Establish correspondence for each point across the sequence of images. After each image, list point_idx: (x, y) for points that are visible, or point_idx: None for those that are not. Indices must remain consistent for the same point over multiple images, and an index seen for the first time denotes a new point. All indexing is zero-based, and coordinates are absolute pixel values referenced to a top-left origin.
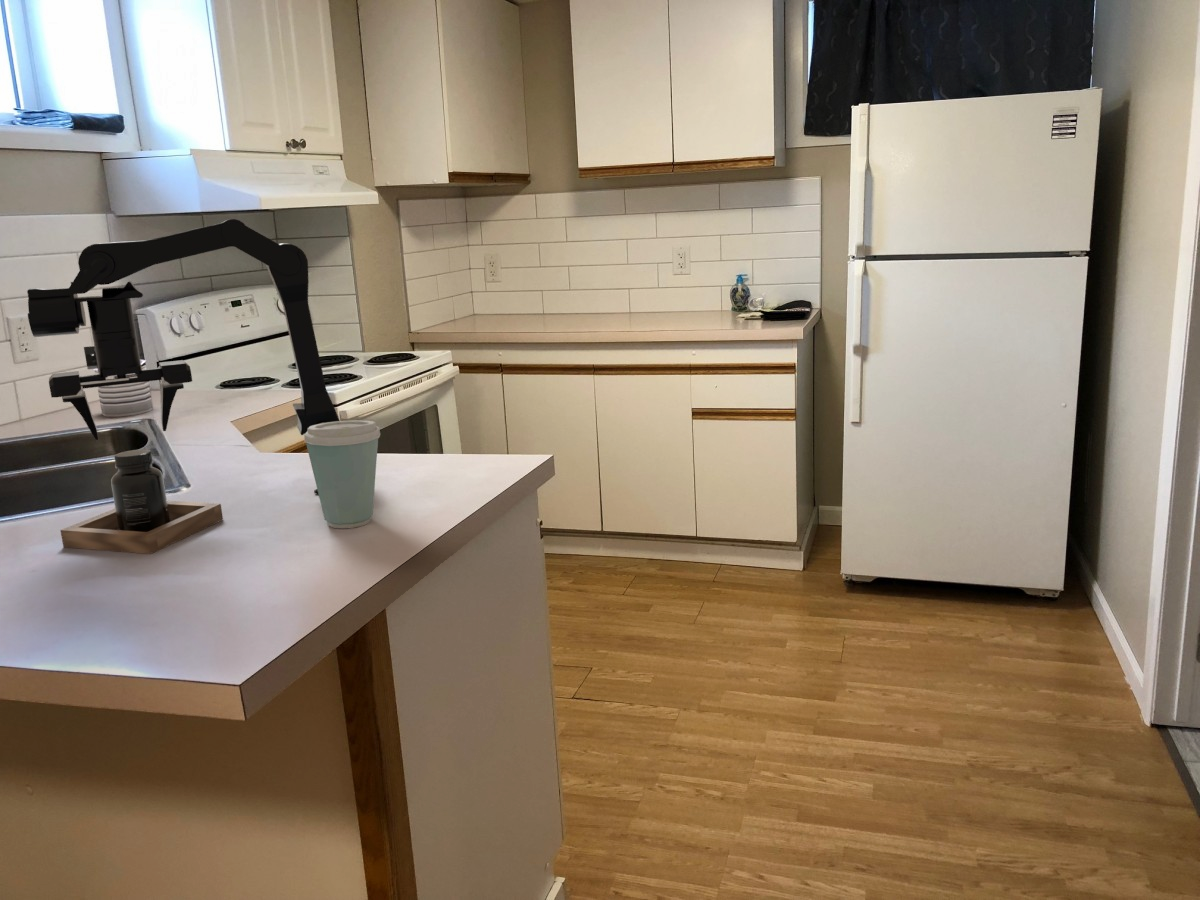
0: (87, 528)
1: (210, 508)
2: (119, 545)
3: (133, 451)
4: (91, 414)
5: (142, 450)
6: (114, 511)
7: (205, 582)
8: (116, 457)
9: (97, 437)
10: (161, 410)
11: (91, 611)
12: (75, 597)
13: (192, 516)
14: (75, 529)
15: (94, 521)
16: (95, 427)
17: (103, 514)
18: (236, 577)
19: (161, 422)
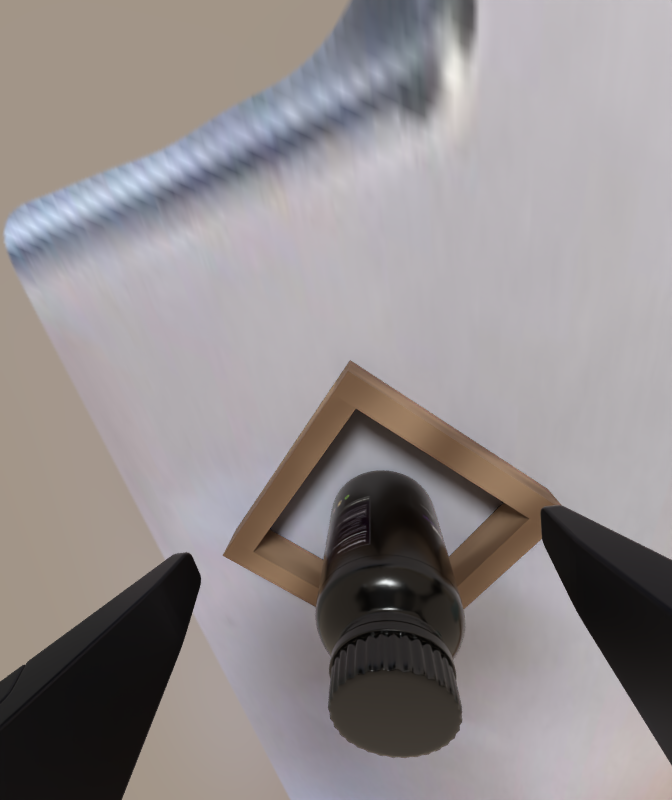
0: (277, 567)
1: (539, 540)
2: None
3: (393, 697)
4: (92, 783)
5: (428, 698)
6: (305, 467)
7: (492, 750)
8: (341, 732)
9: (194, 596)
10: (654, 664)
11: (357, 769)
12: (326, 729)
13: (494, 580)
14: (253, 563)
15: (276, 518)
16: (169, 676)
17: (284, 480)
18: (535, 752)
19: (567, 540)
